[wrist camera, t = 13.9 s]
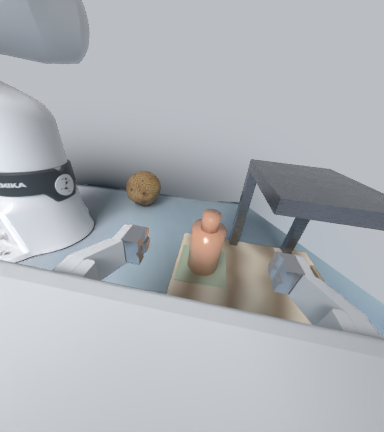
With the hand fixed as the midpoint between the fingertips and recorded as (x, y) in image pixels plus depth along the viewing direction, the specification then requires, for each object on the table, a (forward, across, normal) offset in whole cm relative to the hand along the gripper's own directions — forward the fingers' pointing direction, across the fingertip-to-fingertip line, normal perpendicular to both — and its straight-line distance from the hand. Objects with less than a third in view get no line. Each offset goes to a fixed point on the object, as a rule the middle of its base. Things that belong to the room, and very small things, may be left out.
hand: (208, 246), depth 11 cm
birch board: (+12, -9, +16) cm, 22 cm away
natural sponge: (+32, +18, +18) cm, 41 cm away
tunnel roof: (+12, -12, +14) cm, 22 cm away
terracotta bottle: (+12, -1, +14) cm, 19 cm away
